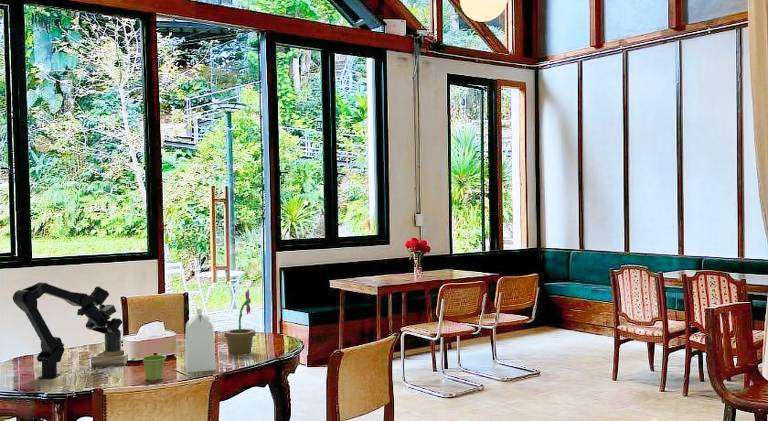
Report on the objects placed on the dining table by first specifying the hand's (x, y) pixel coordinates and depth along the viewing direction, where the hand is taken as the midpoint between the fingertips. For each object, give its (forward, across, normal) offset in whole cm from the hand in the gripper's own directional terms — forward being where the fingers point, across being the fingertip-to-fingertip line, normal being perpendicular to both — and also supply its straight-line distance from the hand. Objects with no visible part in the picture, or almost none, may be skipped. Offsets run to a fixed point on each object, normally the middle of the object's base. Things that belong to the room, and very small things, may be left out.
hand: (115, 335), depth 325 cm
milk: (+15, -43, +2) cm, 46 cm away
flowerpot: (+37, -37, -21) cm, 56 cm away
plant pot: (-1, -42, +18) cm, 45 cm away
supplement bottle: (+4, 0, +6) cm, 7 cm away
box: (+8, 0, +9) cm, 12 cm away
